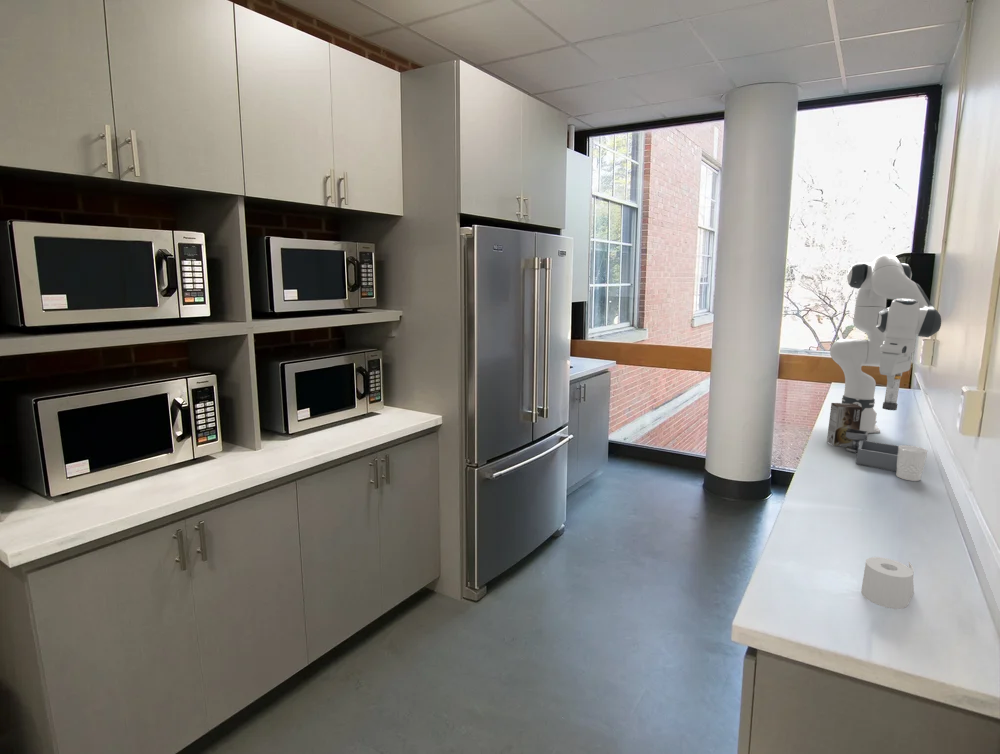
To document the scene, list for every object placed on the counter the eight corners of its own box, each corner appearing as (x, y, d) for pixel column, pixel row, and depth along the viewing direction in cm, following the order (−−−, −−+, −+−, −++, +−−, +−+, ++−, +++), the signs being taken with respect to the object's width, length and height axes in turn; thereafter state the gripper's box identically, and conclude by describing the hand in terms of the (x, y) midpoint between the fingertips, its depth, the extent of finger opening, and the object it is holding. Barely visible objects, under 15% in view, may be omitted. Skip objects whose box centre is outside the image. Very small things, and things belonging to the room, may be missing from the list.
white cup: (895, 479, 192) (900, 449, 190) (892, 472, 199) (896, 443, 197) (924, 483, 188) (929, 453, 187) (920, 476, 195) (925, 447, 194)
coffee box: (849, 442, 233) (855, 403, 230) (857, 447, 227) (863, 407, 224) (825, 441, 234) (830, 402, 231) (833, 446, 228) (838, 405, 225)
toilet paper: (913, 592, 123) (919, 561, 122) (904, 614, 115) (909, 581, 114) (869, 577, 128) (873, 548, 127) (856, 597, 120) (861, 566, 119)
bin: (859, 454, 218) (861, 439, 217) (906, 462, 210) (908, 447, 209) (855, 464, 206) (858, 449, 205) (905, 473, 198) (908, 457, 197)
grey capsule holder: (845, 447, 226) (847, 428, 225) (865, 450, 223) (868, 431, 221) (843, 451, 221) (846, 432, 220) (864, 455, 217) (867, 435, 216)
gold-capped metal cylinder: (880, 408, 205) (885, 374, 202) (884, 407, 207) (889, 373, 205) (894, 410, 201) (899, 376, 199) (898, 409, 204) (903, 375, 202)
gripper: (898, 343, 209) (892, 381, 212) (878, 347, 196) (872, 387, 199) (919, 345, 205) (913, 384, 207) (899, 349, 192) (893, 390, 194)
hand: (892, 385), depth 203 cm, fingers closed on gold-capped metal cylinder, 4 cm apart
